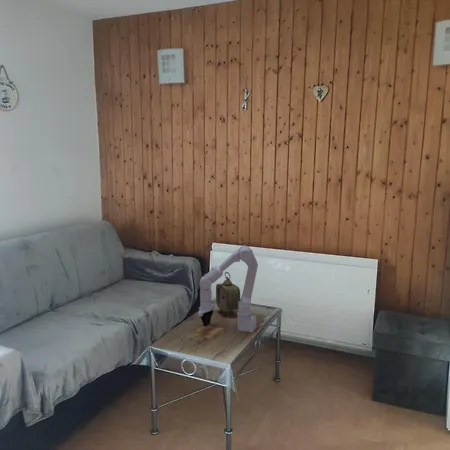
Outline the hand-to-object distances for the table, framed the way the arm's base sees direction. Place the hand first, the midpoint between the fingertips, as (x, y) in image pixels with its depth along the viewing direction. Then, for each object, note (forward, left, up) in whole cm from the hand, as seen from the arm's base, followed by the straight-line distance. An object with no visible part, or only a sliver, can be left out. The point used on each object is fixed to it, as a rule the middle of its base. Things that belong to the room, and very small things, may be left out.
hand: (206, 325), depth 225 cm
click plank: (-3, 0, -3) cm, 4 cm away
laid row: (-3, +7, -3) cm, 9 cm away
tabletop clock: (-1, -26, -4) cm, 26 cm away
